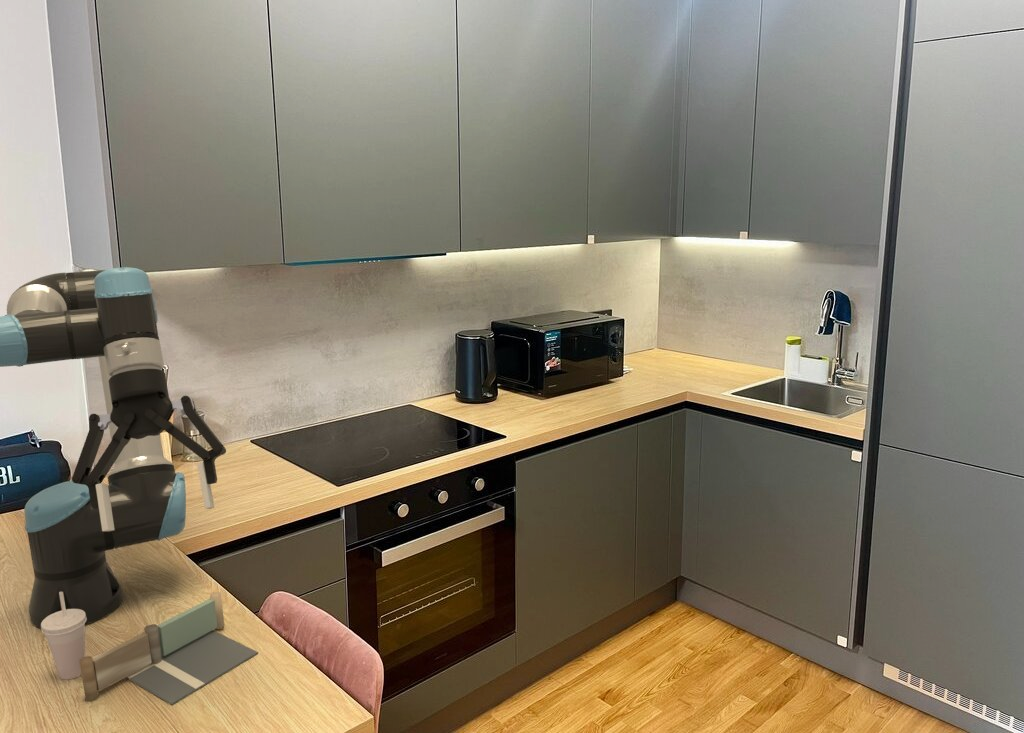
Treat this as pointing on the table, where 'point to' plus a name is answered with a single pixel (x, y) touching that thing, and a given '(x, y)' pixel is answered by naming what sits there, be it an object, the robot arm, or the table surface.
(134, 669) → the base
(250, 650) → the card
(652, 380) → the table surface
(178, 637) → the gate panel
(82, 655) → the smoothie
